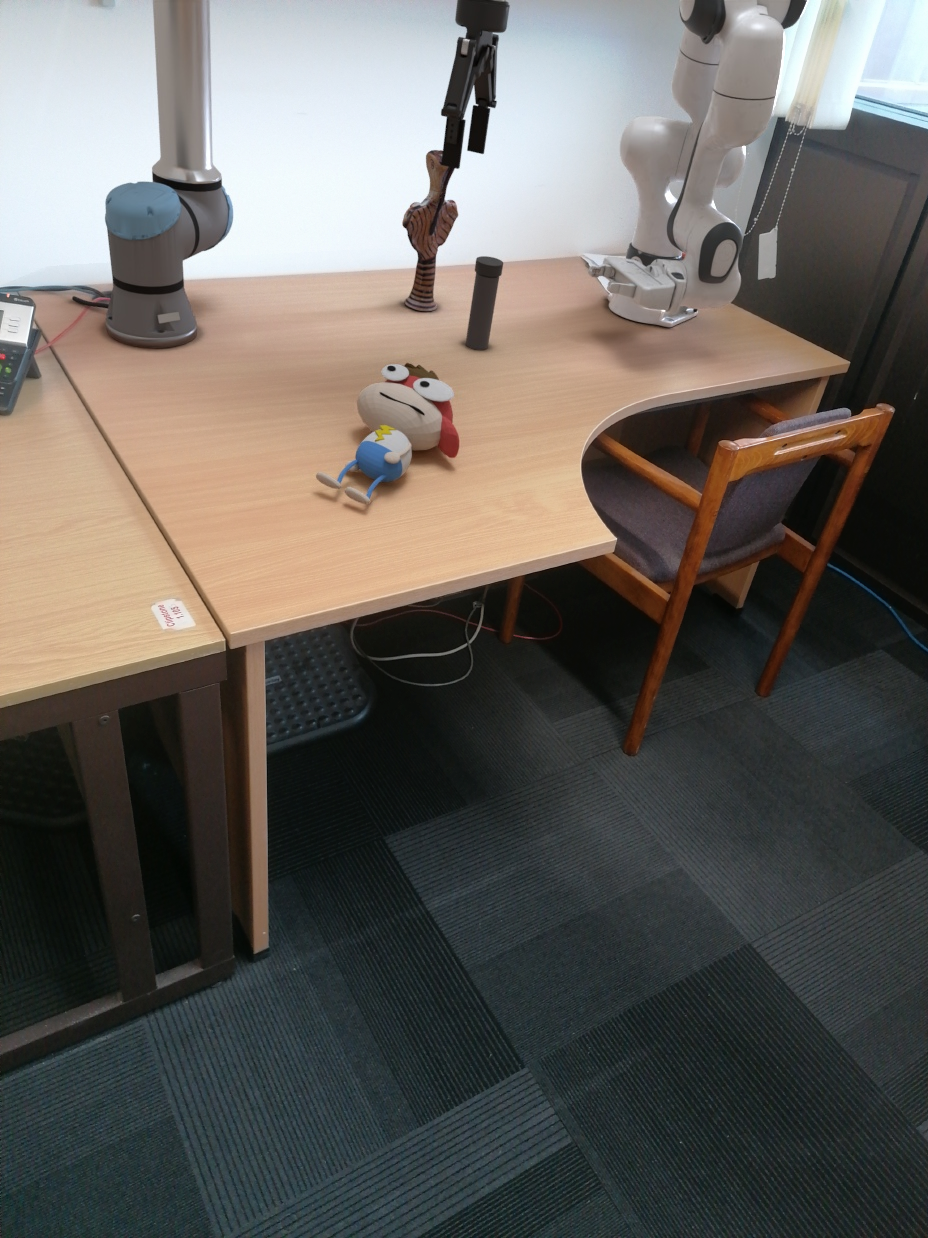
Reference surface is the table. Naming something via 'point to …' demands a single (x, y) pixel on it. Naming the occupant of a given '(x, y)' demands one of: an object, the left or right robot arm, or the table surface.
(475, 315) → the dark grey bottle
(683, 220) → the right robot arm
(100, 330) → the table surface
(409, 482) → the table surface
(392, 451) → the toy
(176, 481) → the table surface
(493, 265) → the lid
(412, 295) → the figurine
